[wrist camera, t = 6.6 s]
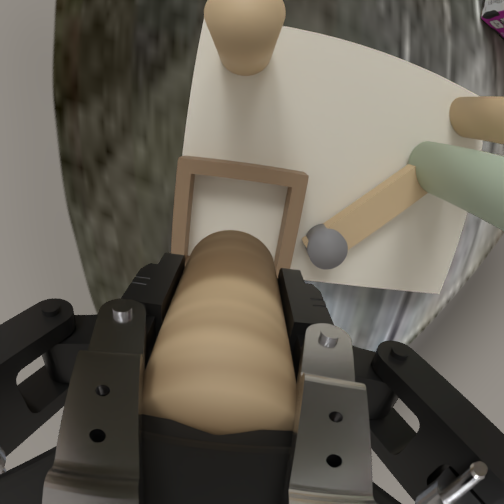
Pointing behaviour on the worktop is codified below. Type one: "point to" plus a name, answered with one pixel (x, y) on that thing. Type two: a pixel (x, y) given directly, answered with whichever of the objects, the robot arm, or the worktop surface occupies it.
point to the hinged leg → (414, 197)
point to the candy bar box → (494, 15)
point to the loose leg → (224, 343)
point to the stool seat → (317, 145)
